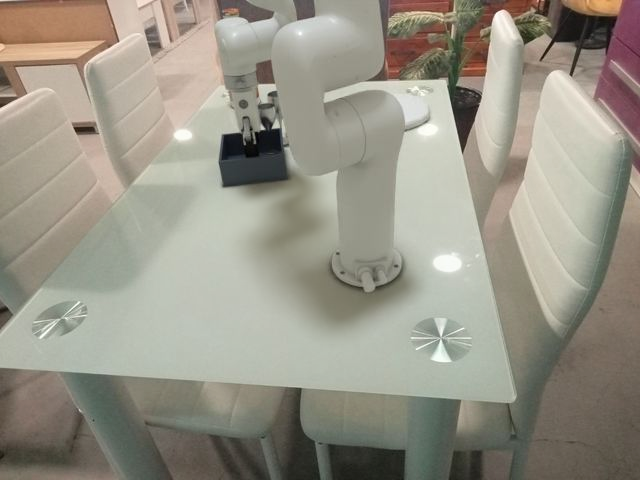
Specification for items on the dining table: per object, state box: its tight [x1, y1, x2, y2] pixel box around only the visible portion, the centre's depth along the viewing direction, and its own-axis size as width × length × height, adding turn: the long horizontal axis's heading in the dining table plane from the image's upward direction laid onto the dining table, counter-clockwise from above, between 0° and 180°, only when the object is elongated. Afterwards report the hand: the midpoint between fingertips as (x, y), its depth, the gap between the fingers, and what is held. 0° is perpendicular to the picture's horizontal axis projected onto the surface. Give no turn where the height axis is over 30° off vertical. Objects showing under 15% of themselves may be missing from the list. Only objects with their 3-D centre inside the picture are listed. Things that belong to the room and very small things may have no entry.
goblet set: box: [258, 90, 289, 154], centre depth 129 cm, size 28×6×13 cm, turn 153°
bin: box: [217, 127, 288, 187], centre depth 117 cm, size 15×15×6 cm
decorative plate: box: [389, 92, 430, 131], centre depth 138 cm, size 25×4×25 cm
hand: (252, 150), depth 116 cm, fingers open, 8 cm apart
